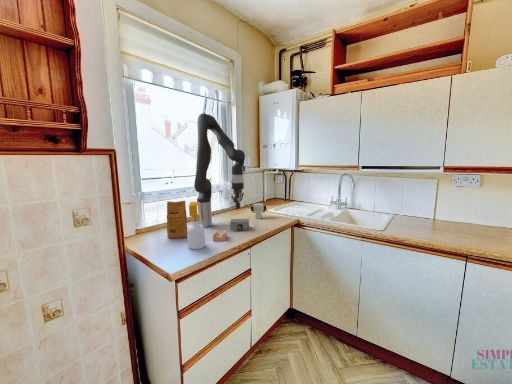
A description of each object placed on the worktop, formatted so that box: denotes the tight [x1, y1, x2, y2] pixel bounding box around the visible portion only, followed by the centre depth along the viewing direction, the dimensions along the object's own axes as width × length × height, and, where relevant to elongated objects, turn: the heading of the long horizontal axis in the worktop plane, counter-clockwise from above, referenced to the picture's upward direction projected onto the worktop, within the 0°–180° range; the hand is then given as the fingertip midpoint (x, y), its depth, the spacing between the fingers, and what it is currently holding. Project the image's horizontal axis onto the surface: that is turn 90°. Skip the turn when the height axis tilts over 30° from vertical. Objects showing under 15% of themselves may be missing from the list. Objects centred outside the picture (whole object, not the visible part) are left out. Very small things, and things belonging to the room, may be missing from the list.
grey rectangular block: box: [229, 218, 250, 232], centre depth 154 cm, size 7×12×6 cm, turn 91°
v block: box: [212, 229, 227, 242], centre depth 137 cm, size 7×7×4 cm
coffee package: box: [166, 200, 188, 239], centre depth 142 cm, size 10×12×22 cm
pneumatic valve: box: [250, 202, 267, 220], centre depth 179 cm, size 6×12×12 cm, turn 91°
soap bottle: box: [186, 201, 206, 250], centre depth 124 cm, size 9×9×25 cm
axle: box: [237, 224, 243, 232], centre depth 157 cm, size 16×4×4 cm, turn 1°
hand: (238, 208), depth 149 cm, fingers closed
